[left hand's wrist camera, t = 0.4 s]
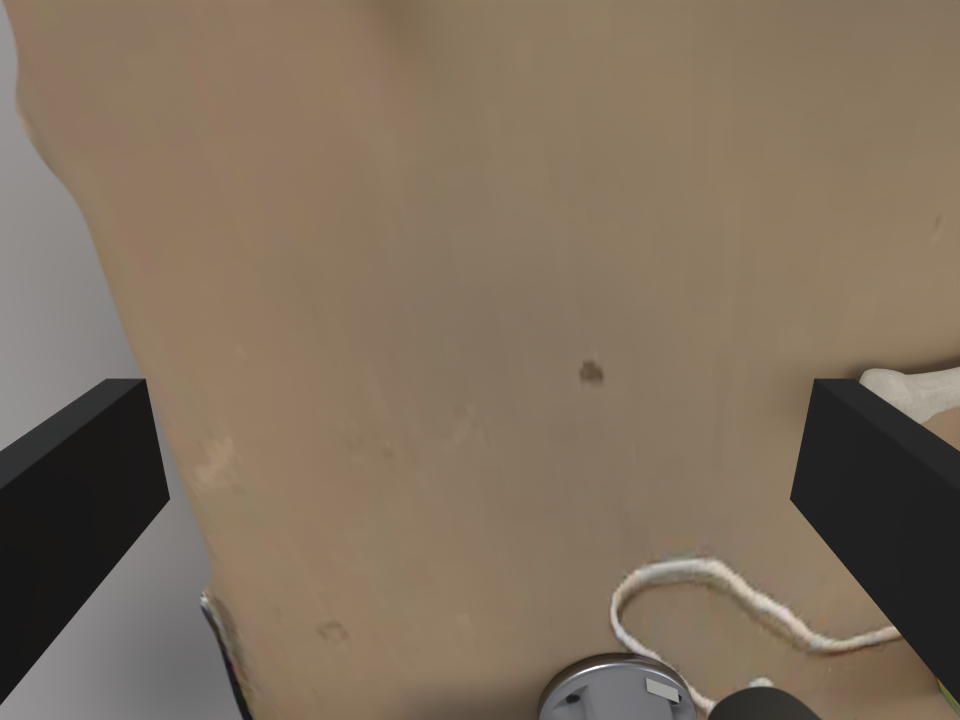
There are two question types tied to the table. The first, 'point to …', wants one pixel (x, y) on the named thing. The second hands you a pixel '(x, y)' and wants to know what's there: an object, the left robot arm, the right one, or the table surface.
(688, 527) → the table surface
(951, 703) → the chalk box
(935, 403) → the dog toy
